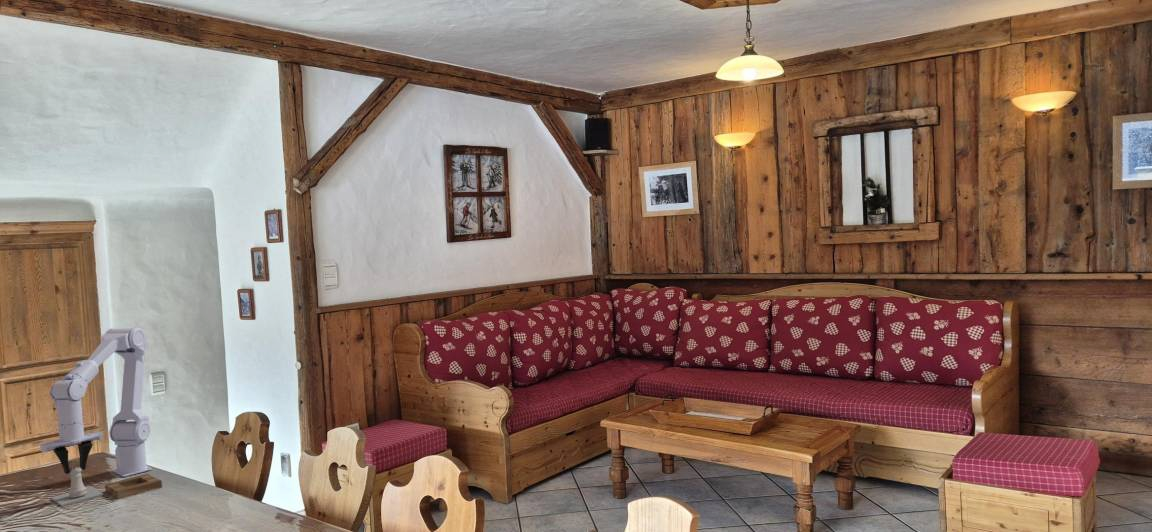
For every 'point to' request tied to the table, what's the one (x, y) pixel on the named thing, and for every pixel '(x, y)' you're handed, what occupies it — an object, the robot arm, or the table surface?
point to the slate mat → (66, 500)
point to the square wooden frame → (133, 486)
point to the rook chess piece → (76, 483)
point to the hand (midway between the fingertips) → (74, 471)
